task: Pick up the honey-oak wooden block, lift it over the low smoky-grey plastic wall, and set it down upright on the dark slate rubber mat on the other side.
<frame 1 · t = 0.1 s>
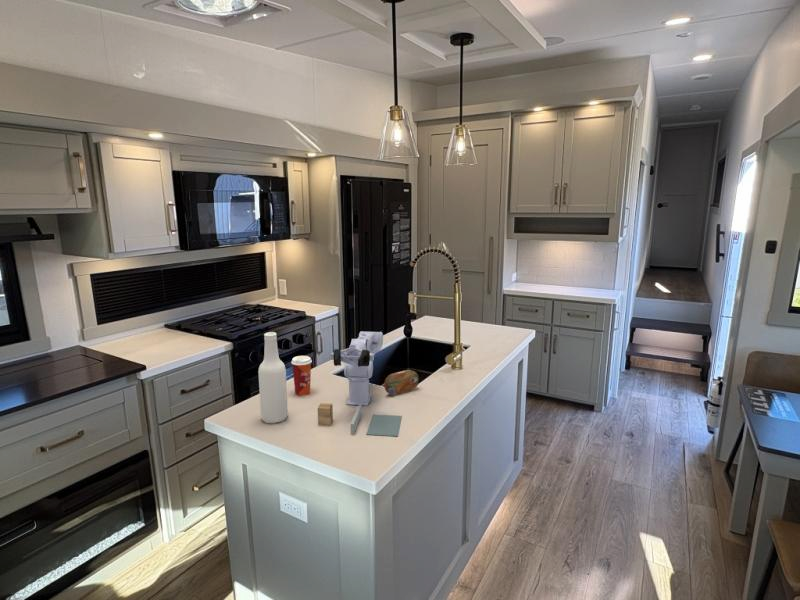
hand: (347, 363, 145), 22 cm above the countertop, tool horizontal, fingers open, 7 cm apart
oak block: (325, 422, 151), on the countertop
paper cup: (302, 393, 175), on the countertop
low wall: (356, 423, 150), on the countertop
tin: (401, 392, 177), on the countertop
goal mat: (384, 425, 149), on the countertop
alcohol: (274, 418, 154), on the countertop
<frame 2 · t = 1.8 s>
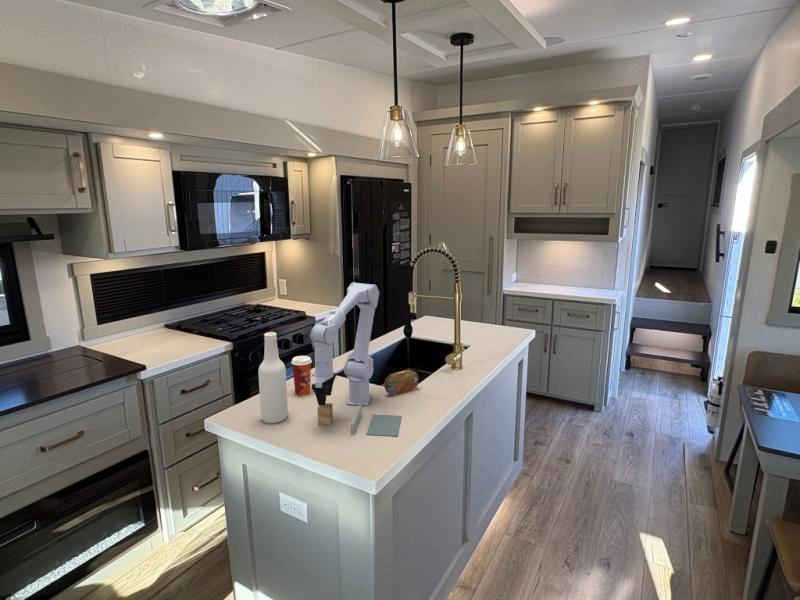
hand: (324, 399, 150), 8 cm above the countertop, tool pointing down, fingers open, 7 cm apart
nothing on the countertop moved.
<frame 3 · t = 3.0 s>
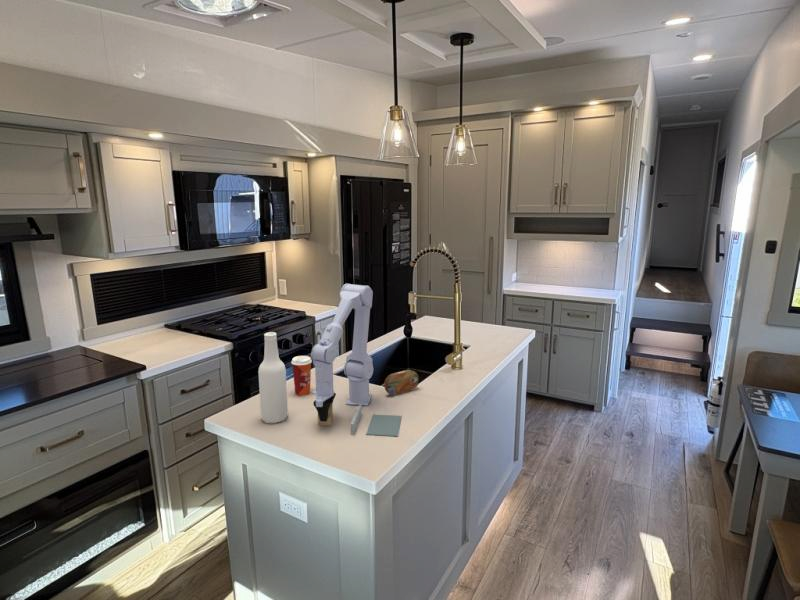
hand: (325, 417, 151), 2 cm above the countertop, tool pointing down, fingers closed on oak block, 4 cm apart
oak block: (325, 422, 151), on the countertop, touching gripper
everything else where it was.
when the fingers open (3 cm above the countertop, at t = 7.6 s): oak block drops 1 cm, resting on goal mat.
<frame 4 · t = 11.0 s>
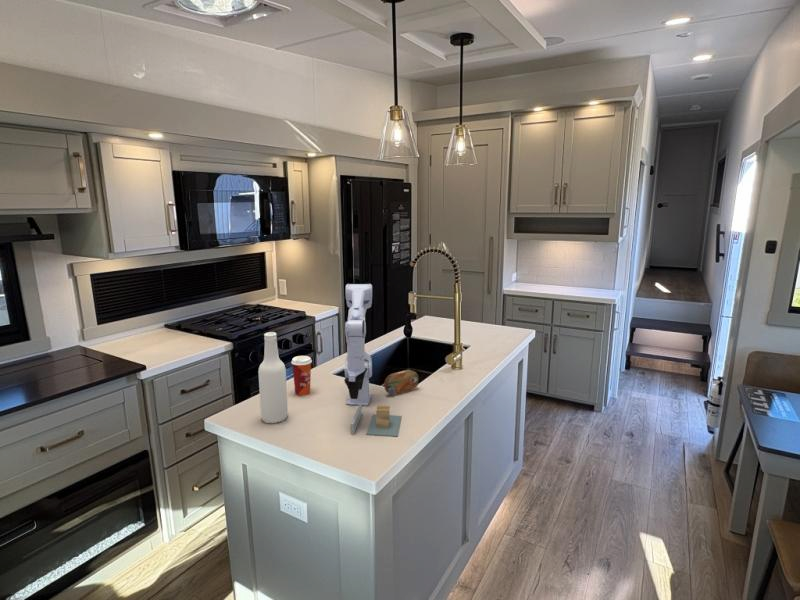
hand: (356, 393, 151), 9 cm above the countertop, tool pointing down, fingers open, 7 cm apart
oak block: (382, 424, 149), resting on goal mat
everything else where it was.
at the end: oak block inside the target area on the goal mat (0.6 cm from its centre), point 0.3 cm above the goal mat's base; oak block tilted 0°; the gripper is holding nothing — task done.
